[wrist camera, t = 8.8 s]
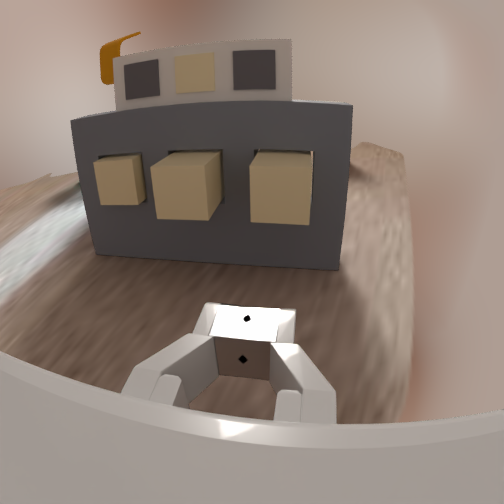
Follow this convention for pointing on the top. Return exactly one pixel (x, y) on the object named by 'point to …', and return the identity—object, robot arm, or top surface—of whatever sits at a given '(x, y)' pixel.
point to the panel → (217, 137)
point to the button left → (120, 179)
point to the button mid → (188, 184)
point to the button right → (281, 186)
